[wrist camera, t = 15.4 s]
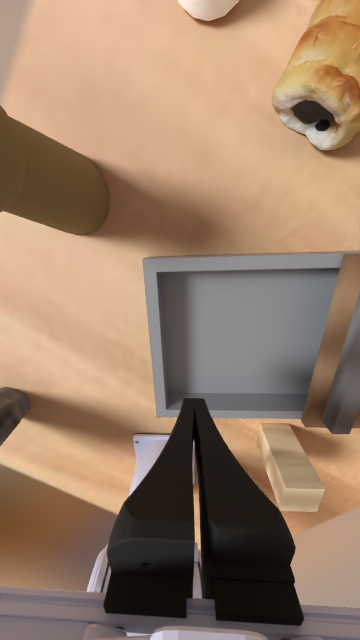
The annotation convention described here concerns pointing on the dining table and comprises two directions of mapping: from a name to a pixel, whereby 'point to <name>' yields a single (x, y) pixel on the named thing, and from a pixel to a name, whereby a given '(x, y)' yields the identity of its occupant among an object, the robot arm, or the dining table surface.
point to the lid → (338, 358)
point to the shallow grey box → (238, 330)
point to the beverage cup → (11, 410)
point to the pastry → (324, 77)
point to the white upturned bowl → (208, 8)
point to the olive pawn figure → (49, 181)
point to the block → (289, 469)
